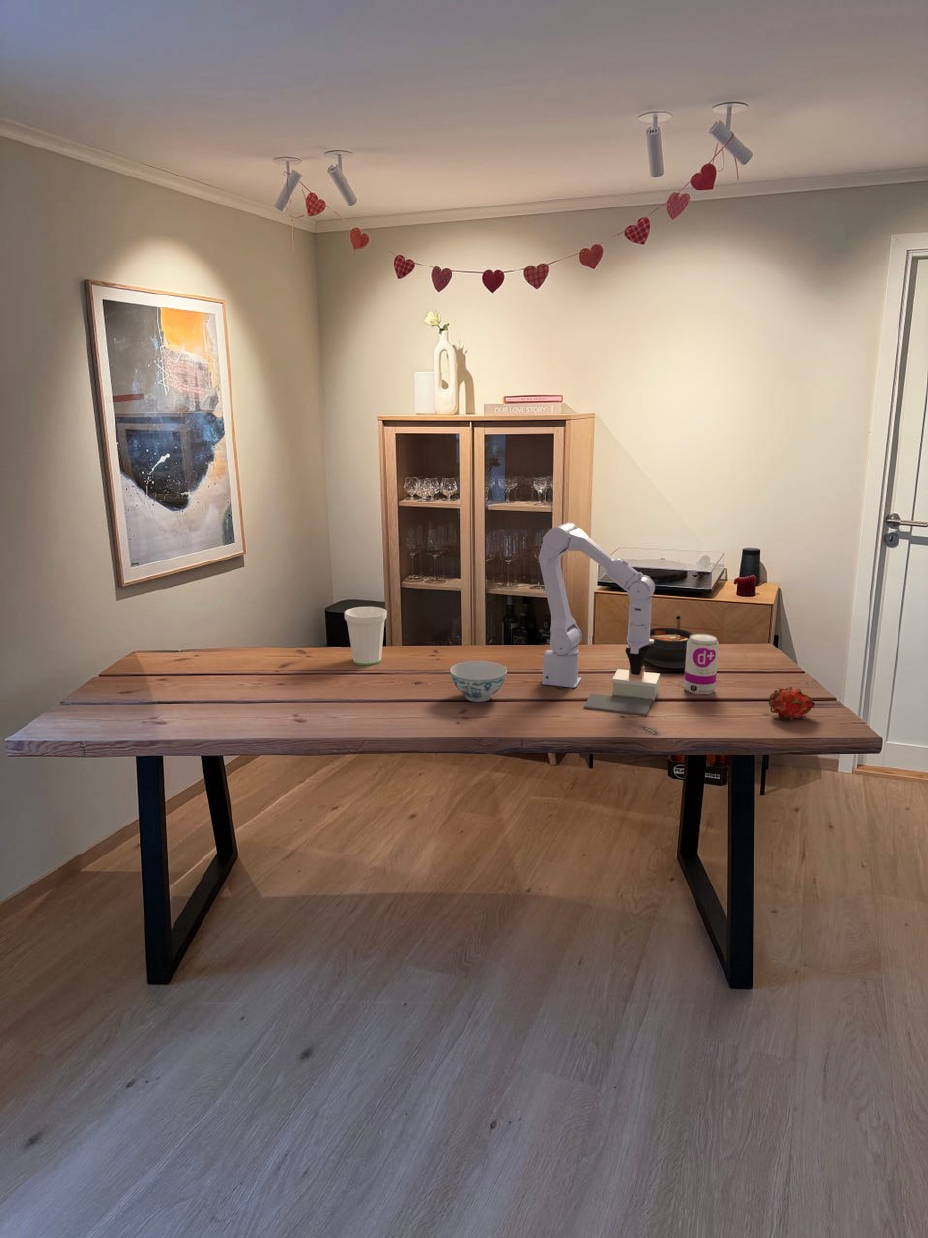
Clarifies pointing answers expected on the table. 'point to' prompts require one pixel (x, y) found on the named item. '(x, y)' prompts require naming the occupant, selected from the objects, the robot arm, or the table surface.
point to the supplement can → (701, 664)
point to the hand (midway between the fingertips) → (636, 671)
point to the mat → (618, 704)
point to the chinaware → (478, 679)
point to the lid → (636, 678)
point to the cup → (366, 633)
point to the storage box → (635, 691)
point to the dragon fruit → (790, 703)
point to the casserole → (668, 647)
